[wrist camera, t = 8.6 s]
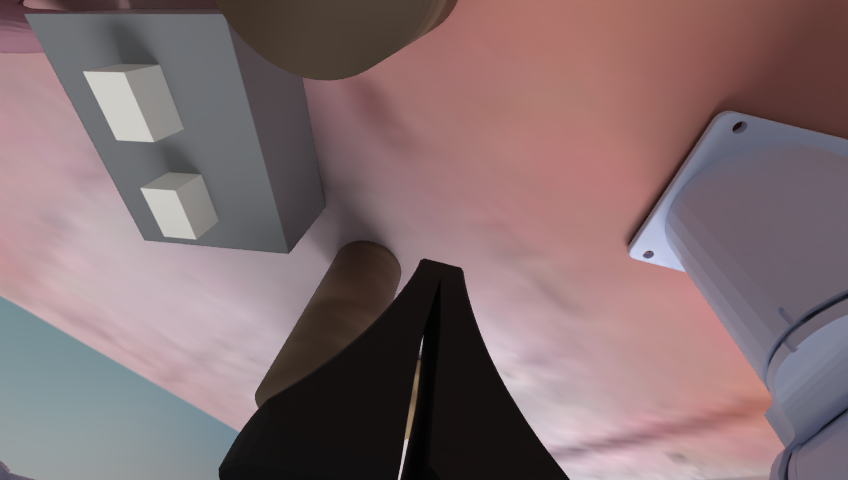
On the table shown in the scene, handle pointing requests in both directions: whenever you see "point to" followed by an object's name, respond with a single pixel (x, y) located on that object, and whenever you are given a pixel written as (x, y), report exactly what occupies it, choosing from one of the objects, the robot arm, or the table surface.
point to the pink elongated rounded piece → (18, 28)
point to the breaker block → (190, 124)
